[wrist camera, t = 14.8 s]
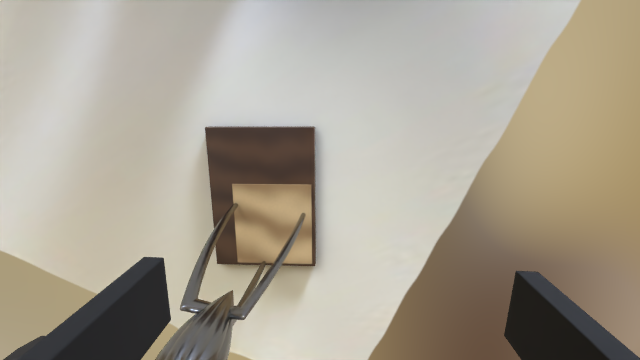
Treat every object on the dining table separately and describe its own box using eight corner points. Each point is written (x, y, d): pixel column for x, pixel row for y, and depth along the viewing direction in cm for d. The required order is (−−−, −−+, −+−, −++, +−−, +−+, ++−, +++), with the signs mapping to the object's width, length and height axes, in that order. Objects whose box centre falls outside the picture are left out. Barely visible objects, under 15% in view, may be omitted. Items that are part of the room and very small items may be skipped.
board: (208, 126, 47) (204, 127, 46) (314, 126, 46) (314, 127, 45) (220, 259, 52) (216, 264, 51) (315, 261, 52) (315, 267, 50)
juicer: (263, 265, 50) (161, 486, 21) (233, 203, 48) (73, 355, 19) (319, 245, 49) (293, 451, 20) (291, 180, 47) (214, 306, 18)
